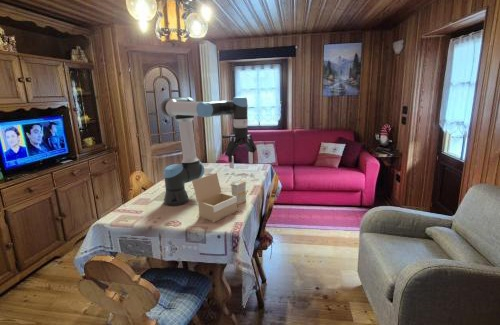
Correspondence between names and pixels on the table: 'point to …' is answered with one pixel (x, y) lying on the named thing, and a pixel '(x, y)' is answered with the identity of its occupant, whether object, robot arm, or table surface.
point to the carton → (217, 207)
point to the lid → (206, 187)
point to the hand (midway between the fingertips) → (241, 165)
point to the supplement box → (239, 191)
